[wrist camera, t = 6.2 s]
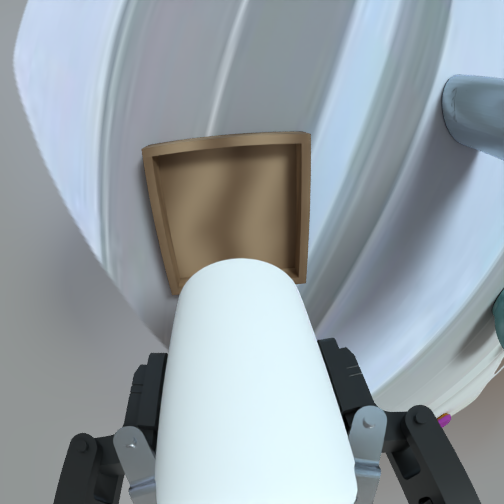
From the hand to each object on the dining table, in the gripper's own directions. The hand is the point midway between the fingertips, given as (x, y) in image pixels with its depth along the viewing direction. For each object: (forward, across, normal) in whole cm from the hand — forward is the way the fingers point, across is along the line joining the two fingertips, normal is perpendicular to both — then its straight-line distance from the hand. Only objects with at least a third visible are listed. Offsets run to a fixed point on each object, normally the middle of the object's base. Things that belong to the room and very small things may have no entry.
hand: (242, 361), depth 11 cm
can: (+4, 0, 0) cm, 4 cm away
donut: (+18, -76, +94) cm, 122 cm away
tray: (+17, 0, 0) cm, 17 cm away
